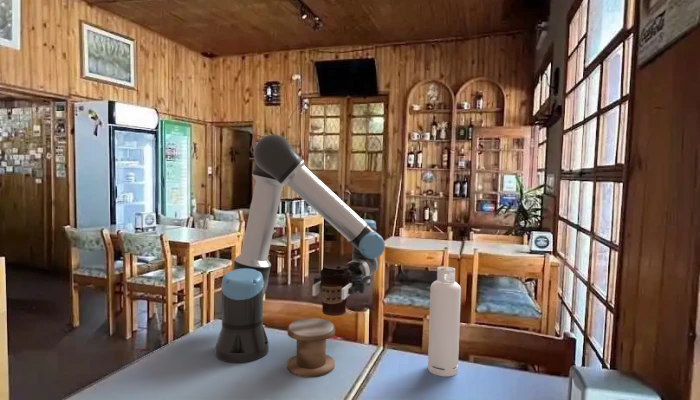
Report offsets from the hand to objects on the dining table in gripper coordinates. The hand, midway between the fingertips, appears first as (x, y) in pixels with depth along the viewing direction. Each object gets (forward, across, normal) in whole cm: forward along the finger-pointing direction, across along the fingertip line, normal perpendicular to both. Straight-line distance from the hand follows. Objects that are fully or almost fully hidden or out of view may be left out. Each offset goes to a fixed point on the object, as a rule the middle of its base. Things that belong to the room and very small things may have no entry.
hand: (328, 292), depth 112 cm
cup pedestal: (-4, +6, -22) cm, 23 cm away
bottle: (-14, -29, -22) cm, 39 cm away
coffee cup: (-5, 0, -7) cm, 9 cm away
